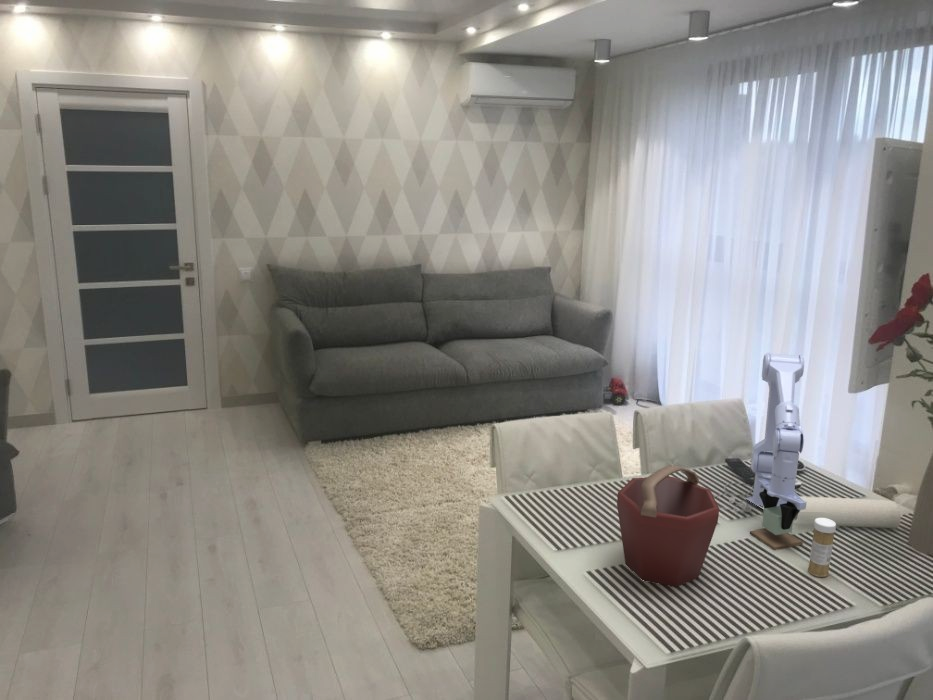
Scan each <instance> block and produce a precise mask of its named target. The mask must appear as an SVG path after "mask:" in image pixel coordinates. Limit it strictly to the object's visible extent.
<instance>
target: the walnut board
mask: <svg viewBox="0 0 933 700" xmlns="http://www.w3.org/2000/svg"><path fill="white" fill-rule="evenodd" d="M749 535H751V536H752V537H754V538H755V539H757V540H758V541H760V542H762V543H763V544H764V545H766V546H767V547H769V548H770V549H771V550H773V551H778V550H782V549H783V550H784V549H787V548H791V547H797V546H801V544H802V545H803V543H804V542H803V541H802V540H801V539H799V538H798V537H796V536H795V535H793V534H791V532H790V533H784V534H779V535H775V534H773V533H772V532H770V531H769V530H767V529H765V528H764V527H762V528H759V529H752V530H749Z"/></svg>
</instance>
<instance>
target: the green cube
mask: <svg viewBox="0 0 933 700" xmlns="http://www.w3.org/2000/svg"><path fill="white" fill-rule="evenodd" d="M762 514H763V515H762V521H761V522H762V524H761V527H762V528H765V529H767V530H769V531H770V532H772V533H773V534H775V535H779V534H784V533H790V534H791V533H792V530H793V524H794V523H793V522H794V521H793V522H792V524H791V527H790V529H786V530H783V529H782V527H781V522H782V513H781V508H780V506H776V507H770V508H764V510H763V513H762Z"/></svg>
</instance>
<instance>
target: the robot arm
mask: <svg viewBox="0 0 933 700" xmlns="http://www.w3.org/2000/svg"><path fill="white" fill-rule="evenodd" d="M804 370H805V358H804V357H803V356H802V355H801V354H800V355H799V354H798V355H795V354H794V355H793V354H780V353H770V352H766V353H765V354H764V356H763V359H762V367H761V378H762V379H761V380H762V381H765V382H766V383H767V384H768V390H769V391H768V399H767V400H768V401H767V411H766V420H765V422H766V423H765V431H764V439H762V440H761V441H759V442H757V443H755V444H754V445H753V449H752V453H751V459H750V468H751V471H752V472H753V473H755V474H754V475H755V476H754V481H753V483H754V484H753V490H752V491H753V492H752V496H748V497H745V500H746V499H747V500H749V501H750V502H749V501H748V502H749V503H751V502H752V503H754V504H756V505H761V506H764V508H770V507H776V506H780V508H781V513H782V522H781V527H782V529H783V530H786V529H790V527H791V524H792V522H794V519H795V518H796V517H797V515H798V514H799V512H801V511H803V510H807V509H806V507H807V503H808V502H807V501H806V500H804V499H803V498H801V496H800V495H798V494H797V492H795V488H796V487H795V486H796V481H797V473H798V468H799V467H798V465H799V458H800V454H802V452H803V449H804V443H805V438H804V437H805V436H804V430H803V427H802V426H801V423H800V420H801V419H800V408H799V407H798V406H797V404H795V401H794V400H795V390H796V389H795V385H796V383H798V382H800V381H801V380H800V379H801V378H802V377H803V375H804V372H805V371H804ZM747 500H746V501H747ZM752 503H751V504H752ZM754 504H753V505H754ZM756 505H755V506H756ZM792 525H793V524H792Z"/></svg>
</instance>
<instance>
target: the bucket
mask: <svg viewBox="0 0 933 700" xmlns="http://www.w3.org/2000/svg"><path fill="white" fill-rule="evenodd" d="M678 472H683V473H684V474H685V476H686V477H687V479H686V480H683V479H679V478H677V477H673V476H671V475H672V474H675V473H678ZM699 482H700V479H699V476H698V475H697V473H696V472H695V471H693V470H691V469H688V468H685V467H682V466H677V465H674V464H673V465H672V464H669V465H667V466H664V467H661V468H659V469H658V470H656V471H654V472H653V473H651V474H650V475H649V476H647V477H633V478H631V479H630V480H629V481H628V482H627V483H626V484H625V485H624V486H623V487H622V488H620V490H619V491H618V492H617V497H616V498H617V499H616V500H617V501H616V507H617V515H618V521H619V527H620V534H621V544H622V549H623V550H622V551H623V556H624V564H626V565H627V566H628V567H629V568H630V569H629V568H628V567H627V566H626V565H625V566H626V567H627V568H628V569H629V570H630V571H631V572H633V571H634V572H635V573H636V574H637V575H638V576H639V577H640V578H641V579H642V580H644V581H643V582H646V581H650V582H649V583H651V582H654V583H653V584H656V583H659V584H658V585H662V584H664V585H663V586H667V585H669V586H668V587H672V586H673V588H677V586H678V587H680V586H682V585H685V584H687V583H690V582H692V581H695V580H697V579H699V576H700V574H701V571H702V568H703V566H704V563H705V560H706V556H707V554H708V551H709V548H710V545H711V542H712V539H713V537H714V534H715V530H716V528H717V525H718V522H719V514H720V507H719V505H718V503H717V500H716V499H715V497H714V494H713V492H712V491H711V489H710V488H707V487H704V486H700V485H698V484H699ZM634 572H633V573H634ZM635 573H634V574H635ZM636 574H635V575H636ZM637 575H636V576H637ZM638 576H637V577H638ZM639 577H638V578H639ZM640 578H639V579H640ZM641 579H640V580H641ZM642 580H641V581H642ZM689 581H690V582H689Z"/></svg>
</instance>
